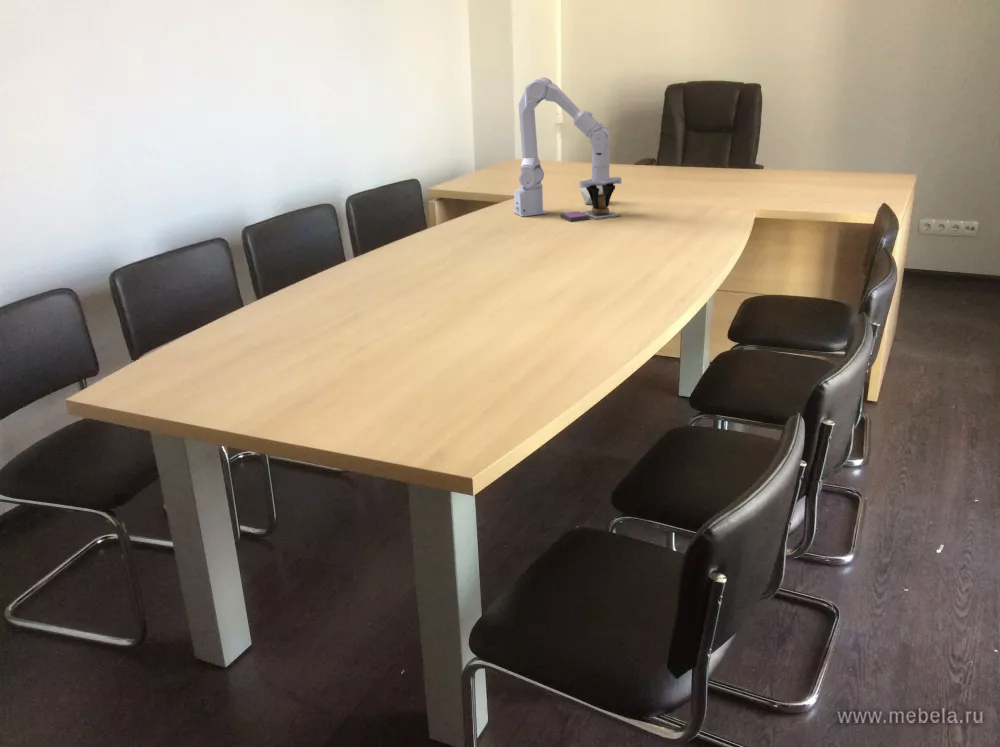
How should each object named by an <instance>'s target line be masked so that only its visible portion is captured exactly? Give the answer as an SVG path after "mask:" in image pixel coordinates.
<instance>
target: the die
mask: <svg viewBox="0 0 1000 747" xmlns="http://www.w3.org/2000/svg"><path fill="white" fill-rule="evenodd" d="M596 187H597V188H598V189H599V194H603V189H602V185H600V186H596ZM580 193H581V196H582V199H583V201H584V204H585V205H592V206H593V204H592V200H591V197H590V195H589V193H588V191H587V189H586V187H585V188H581V189H580Z"/></svg>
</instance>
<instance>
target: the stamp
mask: <svg viewBox="0 0 1000 747" xmlns="http://www.w3.org/2000/svg"><path fill="white" fill-rule="evenodd" d="M591 210H592V212H593V213H594V214H596V215H600V214H609V211H610V208H608V207H606V195H605V194H598V208H593V207H591Z"/></svg>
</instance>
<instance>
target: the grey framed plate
mask: <svg viewBox="0 0 1000 747" xmlns="http://www.w3.org/2000/svg"><path fill="white" fill-rule="evenodd" d="M582 213H583V214H586V215H588V216H590V218H591V219H594V220H602V219H603V220H605V219H609V218H619V217H621V215H620V214H617V213H614V212H612V211H610V210H609V214H600V215H596V214H594V213H593V212H592V209H588V210H586V211H585V212H582Z"/></svg>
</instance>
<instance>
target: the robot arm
mask: <svg viewBox="0 0 1000 747" xmlns="http://www.w3.org/2000/svg"><path fill="white" fill-rule="evenodd" d="M543 100H544V101H546V102H553V103H555V104H557V105H558V106H559V107H560V108H561V109H562V110H563V111H564V112H566V113H567V115H569V116H571V118H572V119H573V125H574V126H575V127H576V128H577V129H578V130H579V131H580V132H581V133H582V134H583V135H584V136H586V137H587V138H589V143H590V145H591V149H592V150H591V179H586V180H580V181H579V188H581V189H582V188H585V187H586V189H587V191H588V193H589V195H590V197H591V200H592V204H593V205H592V208H598V194H599V189H598V188H597V187H596V186H600V185H602V189H603V194H605V195H606V207H607V208H608V207H609V205H610V201H611V198H612V194H613V192H614V191H615V189H616V185H617V184H622V177H620V176H614V177H610V142H611V139H612V133H611V131H610V130H609V128H608V127H607V126H604V124H603V123H601V122H599V121H598V120H596V118H595V117H593V113H592V112H591V111H587V110H581V109H579V107H578V106H577V105H576V104H575V103H574V102H573V101H572V100H571V99H570V98H569V96H568V95H566V93H564V91H562V89H561V88H560V87H559V86H558V85H557V84H555V82H553V81H552V80H551V79H550V78H547V77H540V78H538V79H537V78H536V79H533V80H531V81H530V82H529V83H528V84H527V85H526V86H525V87H524V91H523V94H522V96H521V97H520V100H519V102H518V115H519V116H518V119H519V128H520V129H519V130H520V141H521V142H520V143H521V152H522V154H521V155H522V161H521V165H520V172H519V175H518V181H519V184H520V188H516V189H514V193H513V200H514V201H513V203H514V204H513V205H514V210H513V213H514V214H516V215H517V216H520V217H530V216H538V215H545V214H546V215H548V211H546V210H544V200H543V198H544V196H543V192H544V191H543V184H542V181H543V180H544V177H545V173H544V170H543V168H542V166H541V160H540V159H539V155H538V154H539V151H538V140H537V126H536V114H535V111H536V110H535V109H536V107H537V106H538V105H539V104H540V103H541V102H542V101H543Z"/></svg>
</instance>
